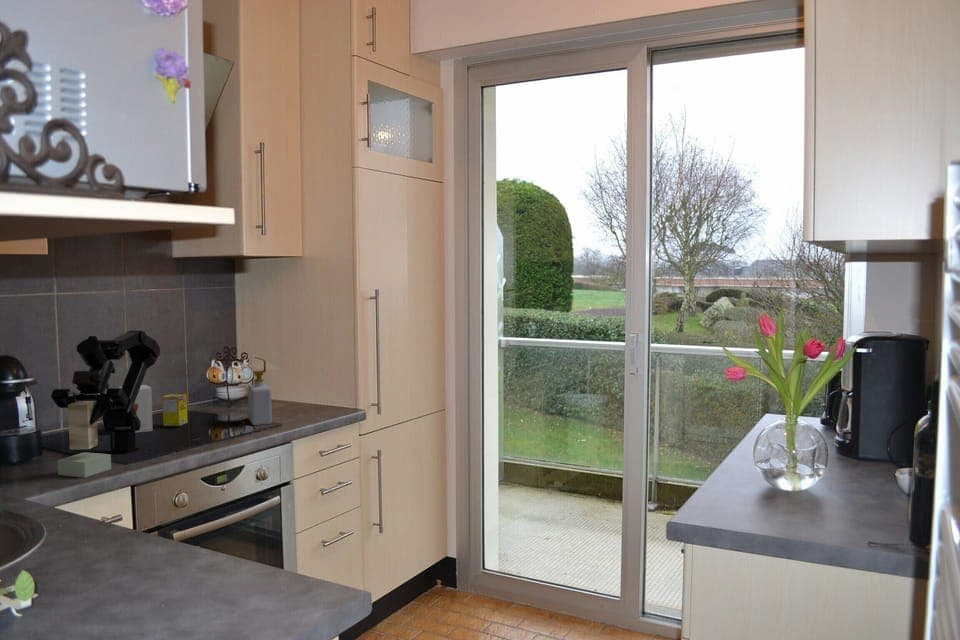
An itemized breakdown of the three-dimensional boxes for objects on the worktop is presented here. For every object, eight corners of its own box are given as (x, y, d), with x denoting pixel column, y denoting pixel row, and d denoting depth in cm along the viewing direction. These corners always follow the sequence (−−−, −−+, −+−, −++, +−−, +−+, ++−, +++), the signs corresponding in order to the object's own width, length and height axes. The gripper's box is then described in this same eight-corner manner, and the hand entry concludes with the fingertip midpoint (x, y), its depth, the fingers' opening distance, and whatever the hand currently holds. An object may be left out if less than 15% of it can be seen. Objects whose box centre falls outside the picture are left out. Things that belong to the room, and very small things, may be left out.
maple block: (79, 445, 206) (77, 401, 205) (97, 444, 206) (96, 401, 205) (69, 449, 201) (68, 404, 200) (88, 449, 201) (87, 404, 200)
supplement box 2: (124, 434, 250) (122, 389, 249) (118, 430, 258) (117, 386, 257) (153, 431, 256) (151, 387, 255) (147, 426, 263) (145, 384, 262)
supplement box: (188, 424, 267) (187, 393, 266) (179, 428, 261) (178, 396, 260) (171, 424, 267) (171, 393, 266) (163, 427, 261) (162, 396, 260)
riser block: (111, 468, 207) (110, 454, 206) (84, 477, 198) (84, 462, 198) (85, 466, 209) (84, 452, 209) (58, 474, 201) (57, 460, 201)
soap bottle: (248, 419, 275) (246, 355, 274) (267, 418, 278) (265, 354, 276) (252, 425, 264) (251, 359, 262) (272, 424, 267) (270, 358, 265)
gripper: (52, 359, 205) (31, 407, 195) (122, 358, 206) (105, 406, 196) (68, 383, 214) (49, 430, 203) (135, 383, 214) (119, 429, 204)
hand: (80, 423), depth 201 cm, fingers closed on maple block, 5 cm apart
